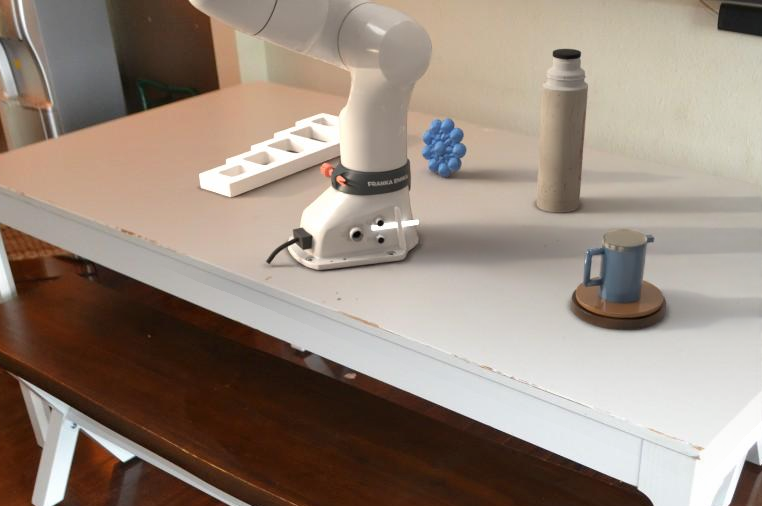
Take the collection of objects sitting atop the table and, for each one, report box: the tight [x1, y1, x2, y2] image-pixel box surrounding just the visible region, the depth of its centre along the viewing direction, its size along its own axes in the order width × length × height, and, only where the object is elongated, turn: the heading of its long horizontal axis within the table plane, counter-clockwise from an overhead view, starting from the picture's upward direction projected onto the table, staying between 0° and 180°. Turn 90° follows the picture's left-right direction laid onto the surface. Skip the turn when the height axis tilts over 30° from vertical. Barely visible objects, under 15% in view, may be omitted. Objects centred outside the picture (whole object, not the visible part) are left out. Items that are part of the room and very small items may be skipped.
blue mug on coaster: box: [575, 228, 664, 318], centre depth 145 cm, size 13×13×10 cm
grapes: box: [421, 117, 467, 178], centre depth 195 cm, size 12×7×12 cm, turn 45°
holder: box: [198, 112, 341, 198], centre depth 207 cm, size 45×18×3 cm, turn 143°
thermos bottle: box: [536, 48, 589, 214], centre depth 177 cm, size 8×8×28 cm
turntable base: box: [570, 289, 667, 331], centre depth 148 cm, size 14×14×2 cm
